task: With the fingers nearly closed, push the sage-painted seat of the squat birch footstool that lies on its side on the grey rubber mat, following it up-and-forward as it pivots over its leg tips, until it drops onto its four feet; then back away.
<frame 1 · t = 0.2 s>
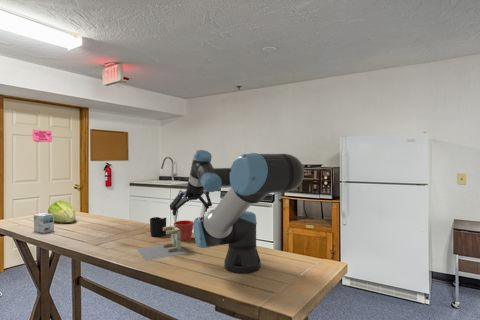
hand: (188, 218, 142), 16 cm above the table, tool tilted 30°, fingers open, 13 cm apart
lettuce: (63, 222, 214), on the table
stool: (171, 248, 147), resting on mat
mat: (162, 251, 144), on the table
flower pot: (183, 240, 165), on the table
light bulb box: (43, 231, 186), on the table
pen holder: (158, 235, 175), on the table
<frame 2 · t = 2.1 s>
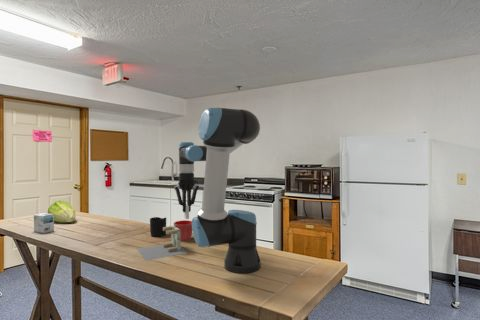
hand: (186, 218, 151), 15 cm above the table, tool pointing down, fingers closed
nothing on the table moved.
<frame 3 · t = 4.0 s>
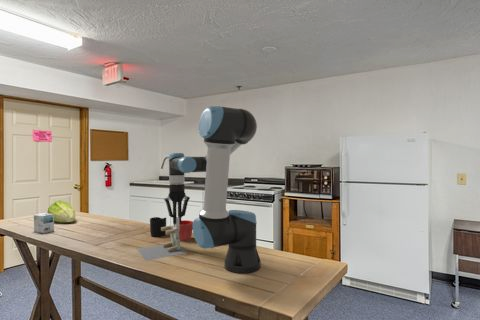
hand: (177, 230, 149), 9 cm above the table, tool pointing down, fingers closed
stool: (171, 247, 147), point 1 cm above the table, tilted 6°, touching gripper, mat
everything else where it was.
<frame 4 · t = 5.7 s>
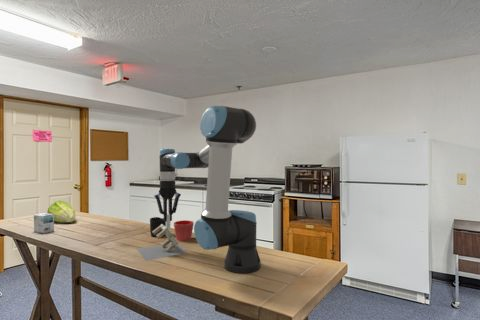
hand: (167, 227, 146), 11 cm above the table, tool pointing down, fingers closed
stool: (170, 245, 147), point 2 cm above the table, tilted 33°, touching gripper, mat
everything else where it was.
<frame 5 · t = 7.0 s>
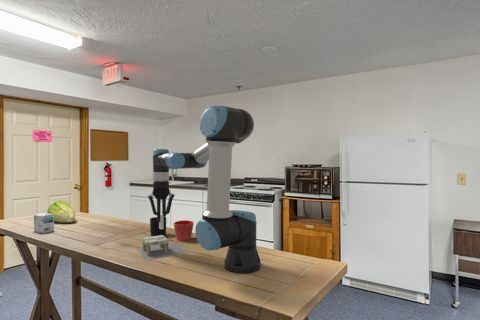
hand: (161, 228, 145), 11 cm above the table, tool pointing down, fingers closed
stool: (165, 243, 146), point 3 cm above the table, tilted 90°, touching mat
everything else where it was.
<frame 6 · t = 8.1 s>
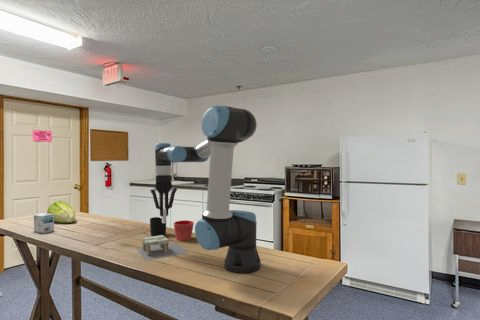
hand: (164, 222, 145), 14 cm above the table, tool pointing down, fingers closed
nothing on the table moved.
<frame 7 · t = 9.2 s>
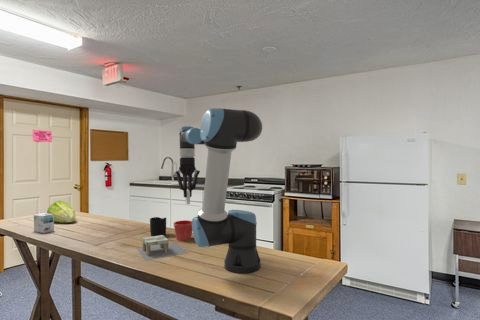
hand: (187, 203, 150), 22 cm above the table, tool pointing down, fingers closed
nothing on the table moved.
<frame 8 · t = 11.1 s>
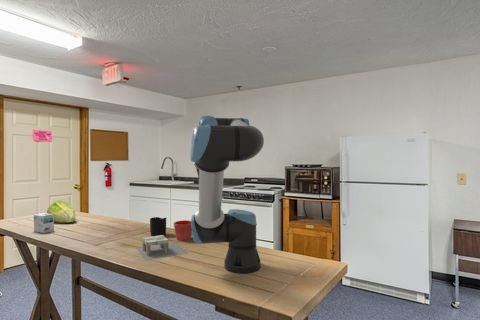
hand: (207, 197, 143), 26 cm above the table, tool pointing down, fingers closed
nothing on the table moved.
at the end: stool tilted 90°; stool inside the target area (1.5 cm from its centre), point 3.4 cm above the table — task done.
